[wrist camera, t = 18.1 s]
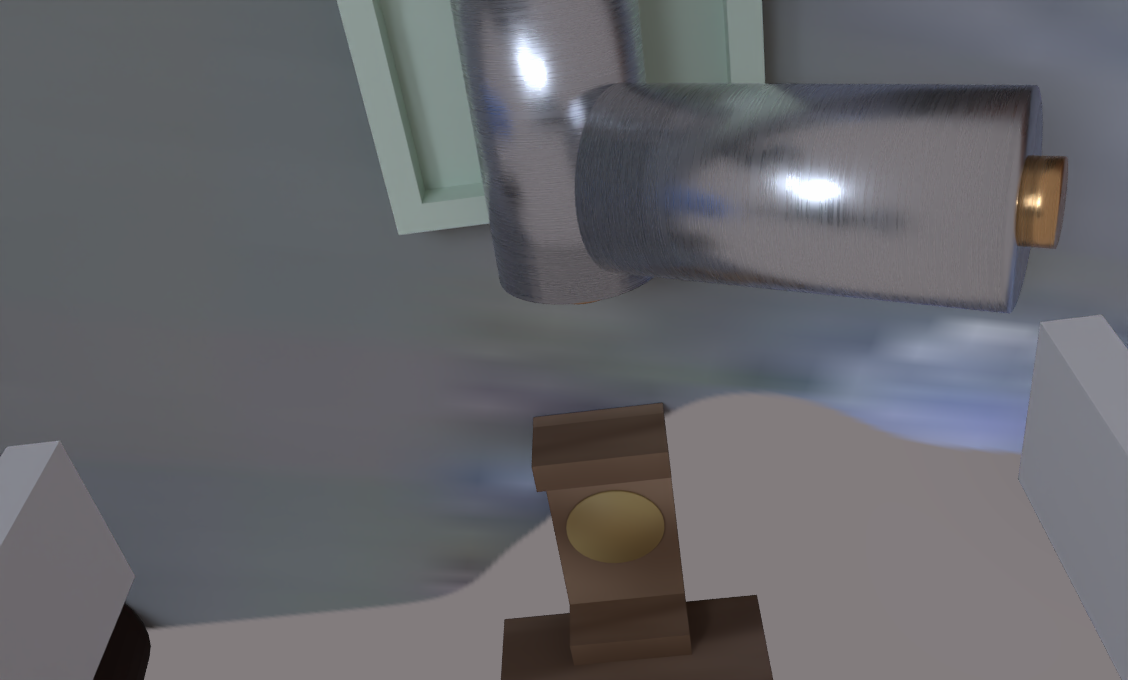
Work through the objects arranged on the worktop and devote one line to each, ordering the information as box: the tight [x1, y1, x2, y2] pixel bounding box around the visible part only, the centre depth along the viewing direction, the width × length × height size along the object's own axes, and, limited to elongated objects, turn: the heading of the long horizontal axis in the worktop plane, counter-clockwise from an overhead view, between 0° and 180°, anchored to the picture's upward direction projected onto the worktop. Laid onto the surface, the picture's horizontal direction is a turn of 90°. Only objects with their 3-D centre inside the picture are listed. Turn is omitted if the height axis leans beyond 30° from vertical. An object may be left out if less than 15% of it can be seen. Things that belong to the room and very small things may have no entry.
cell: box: [575, 83, 1068, 313], centre depth 21 cm, size 4×4×9 cm
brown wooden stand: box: [501, 403, 773, 680], centre depth 34 cm, size 12×9×5 cm
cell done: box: [450, 0, 653, 304], centre depth 24 cm, size 4×4×9 cm
